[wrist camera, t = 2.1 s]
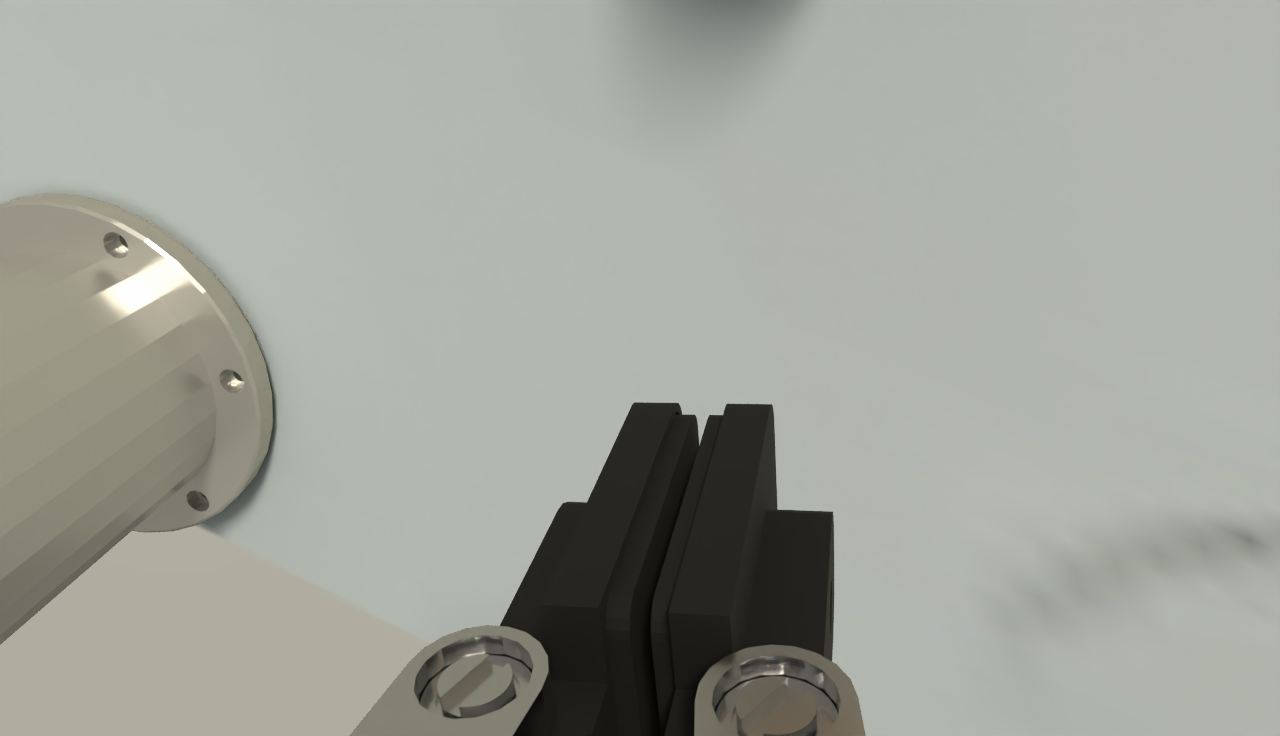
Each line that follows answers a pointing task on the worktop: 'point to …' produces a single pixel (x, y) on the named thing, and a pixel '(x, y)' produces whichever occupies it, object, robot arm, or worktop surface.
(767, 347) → the worktop surface
